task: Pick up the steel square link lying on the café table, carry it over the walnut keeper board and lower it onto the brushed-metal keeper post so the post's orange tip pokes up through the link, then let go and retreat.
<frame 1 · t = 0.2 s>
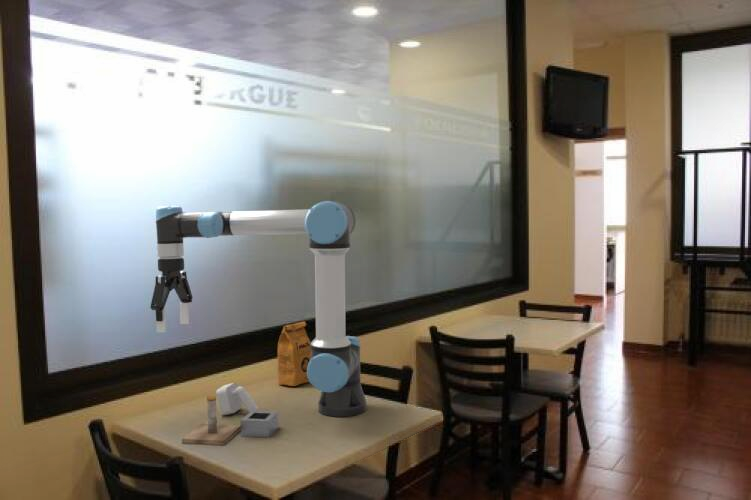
hand: (173, 327, 187), 28 cm above the table, fingers open, 13 cm apart
wall hook: (240, 413, 192), on the table
link: (260, 431, 175), on the table
keeper: (212, 436, 173), on the table
coffee package: (296, 383, 224), on the table
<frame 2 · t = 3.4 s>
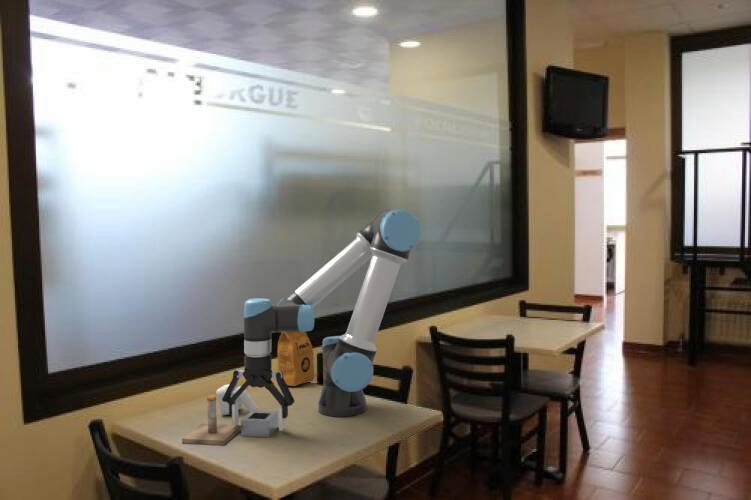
hand: (258, 428, 175), 1 cm above the table, fingers open, 13 cm apart
nothing on the table moved.
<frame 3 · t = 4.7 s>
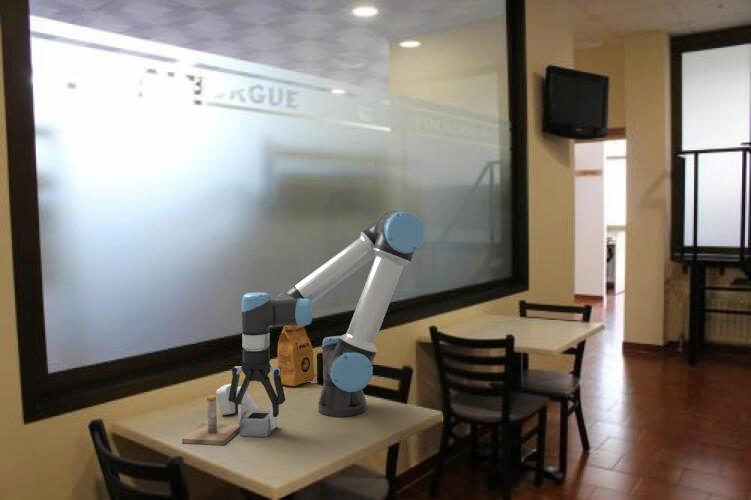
hand: (257, 426, 175), 1 cm above the table, fingers open, 9 cm apart
link: (258, 431, 176), on the table, touching gripper
everything else where it was.
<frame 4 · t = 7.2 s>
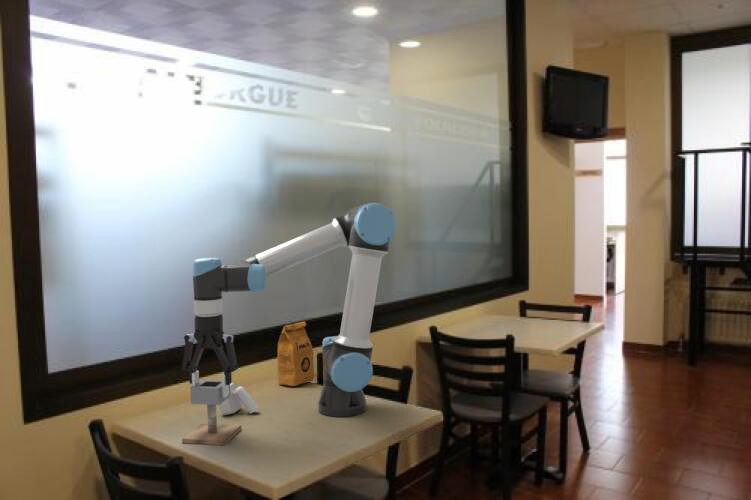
hand: (210, 395, 172), 11 cm above the table, fingers closed on link, 8 cm apart
link: (211, 400, 172), point 10 cm above the table, touching gripper
everything else where it was.
when the fingers open (3 cm above the table, at t = 9.4 s): link stays where it is, resting on keeper.
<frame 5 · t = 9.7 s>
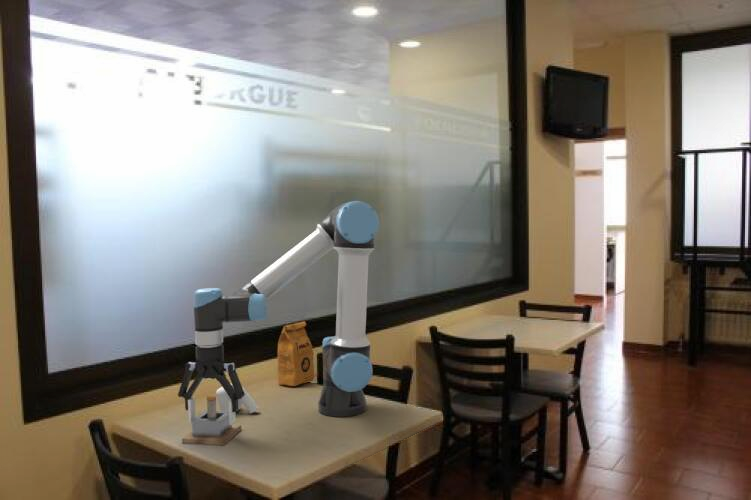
hand: (212, 422, 172), 4 cm above the table, fingers open, 11 cm apart
link: (212, 431, 173), point 1 cm above the table, touching keeper
everything else where it was.
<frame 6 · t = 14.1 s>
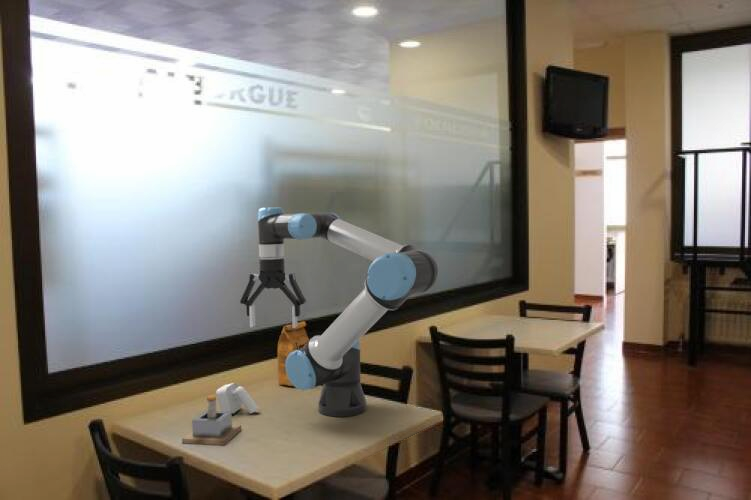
hand: (273, 326, 191), 27 cm above the table, fingers open, 13 cm apart
nothing on the table moved.
at the end: link 0.1 cm off-centre on the keeper, point 1.2 cm above the keeper's base; the gripper is holding nothing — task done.
